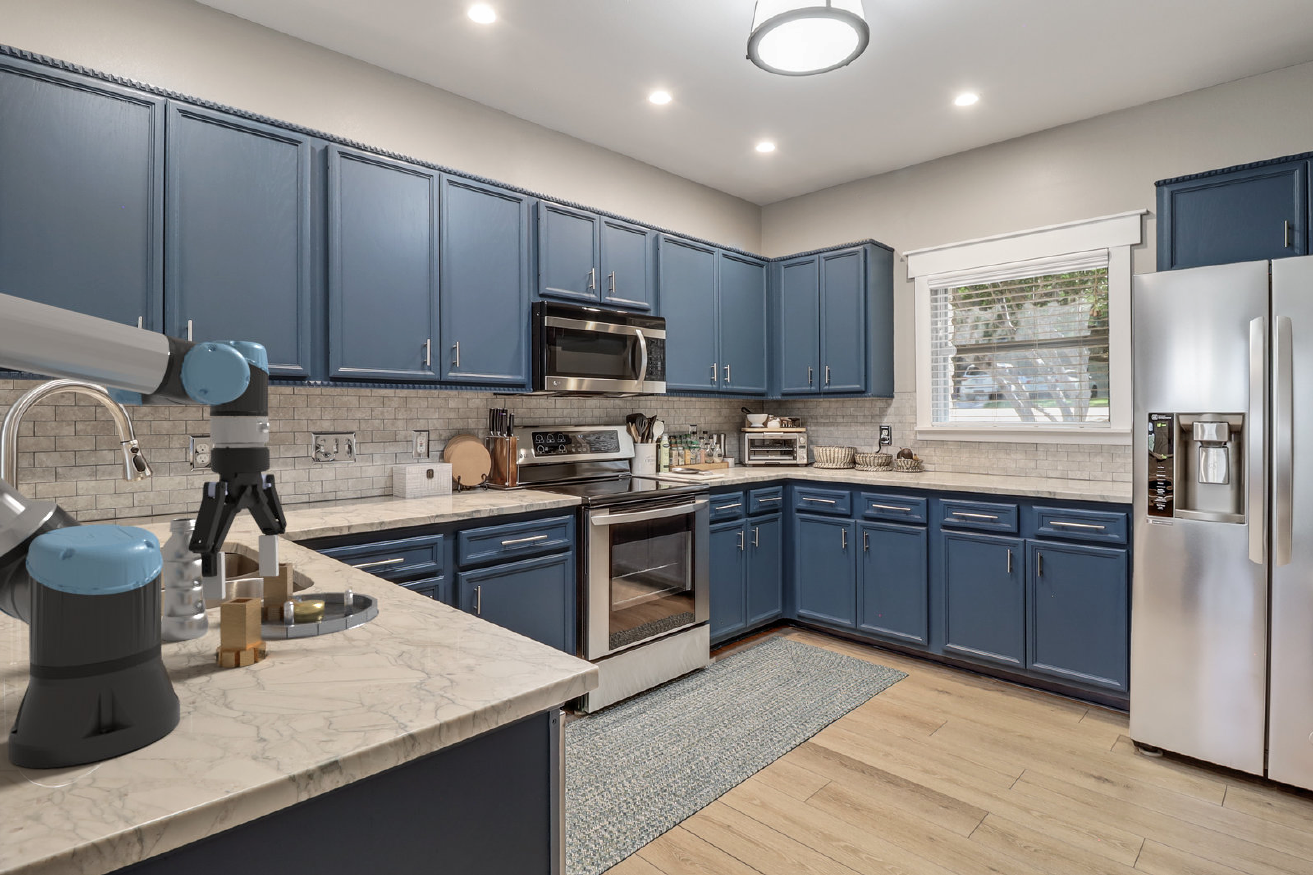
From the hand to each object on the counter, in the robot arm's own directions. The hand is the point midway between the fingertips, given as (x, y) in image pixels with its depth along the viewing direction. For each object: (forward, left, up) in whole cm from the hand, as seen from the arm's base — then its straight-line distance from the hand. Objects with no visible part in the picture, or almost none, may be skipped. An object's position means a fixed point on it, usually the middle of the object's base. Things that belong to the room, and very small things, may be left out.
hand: (243, 586), depth 103 cm
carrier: (+18, -1, -11) cm, 21 cm away
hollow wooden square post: (0, 0, -11) cm, 11 cm away
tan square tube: (+19, +6, -10) cm, 22 cm away
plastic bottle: (+8, +14, -11) cm, 20 cm away
